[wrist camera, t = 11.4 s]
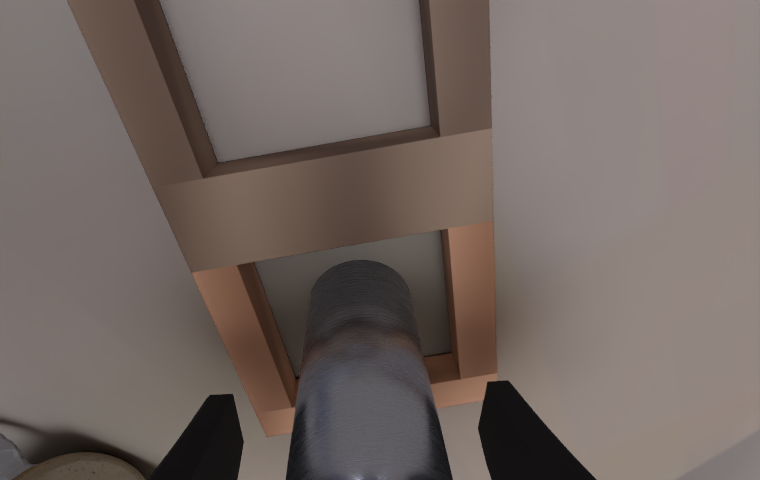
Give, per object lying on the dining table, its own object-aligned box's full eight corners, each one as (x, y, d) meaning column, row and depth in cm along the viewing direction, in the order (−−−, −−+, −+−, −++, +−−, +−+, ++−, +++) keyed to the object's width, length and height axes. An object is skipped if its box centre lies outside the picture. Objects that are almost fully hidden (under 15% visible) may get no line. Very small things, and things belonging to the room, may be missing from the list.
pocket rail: (272, 407, 18) (266, 436, 17) (19, -190, 9) (-38, -229, 8) (486, 371, 18) (497, 398, 17) (462, -272, 9) (482, -325, 8)
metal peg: (313, 342, 17) (289, 570, 10) (306, 261, 15) (270, 470, 8) (407, 339, 17) (449, 557, 10) (412, 259, 15) (468, 458, 8)
